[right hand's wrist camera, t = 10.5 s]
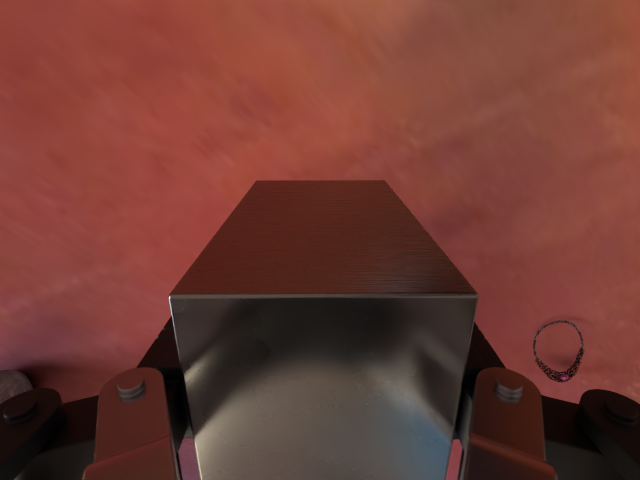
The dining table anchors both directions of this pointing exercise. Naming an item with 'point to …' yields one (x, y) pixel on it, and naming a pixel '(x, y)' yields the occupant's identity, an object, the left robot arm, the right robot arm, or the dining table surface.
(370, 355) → the box
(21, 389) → the pipe
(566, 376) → the necklace
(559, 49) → the dining table surface
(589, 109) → the dining table surface
